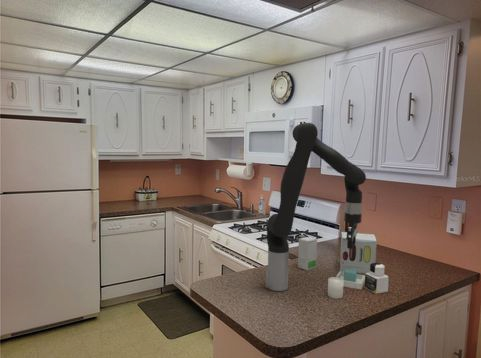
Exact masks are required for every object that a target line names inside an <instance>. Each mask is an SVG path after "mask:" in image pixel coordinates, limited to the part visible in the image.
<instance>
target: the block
mask: <svg viewBox="0 0 481 358" xmlns="http://www.w3.org/2000/svg"><path fill="white" fill-rule="evenodd" d="M343 272H344V280H345V281H351V282H356V275H357V274H358V273H357V270H351V269H345V271H343Z"/></svg>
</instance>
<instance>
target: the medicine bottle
mask: <svg viewBox="0 0 481 358" xmlns="http://www.w3.org/2000/svg"><path fill="white" fill-rule="evenodd" d="M385 268H386V266H385V265H384V264H382V263H380V262H375V263H371V264H370V273H365V274H364V275H365V282H364V289H366V290H367V291H369V292H371V293H373V294H382V293H388V291H389V276H388V275H387V274H385Z"/></svg>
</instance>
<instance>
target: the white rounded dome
mask: <svg viewBox="0 0 481 358" xmlns="http://www.w3.org/2000/svg"><path fill="white" fill-rule="evenodd" d="M343 285H344V280H343V279H341V278H338V277H336V276H331V277H328V278H327V296H328V297H329V298H331V299H342V298H343V297H344V286H343Z"/></svg>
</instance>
